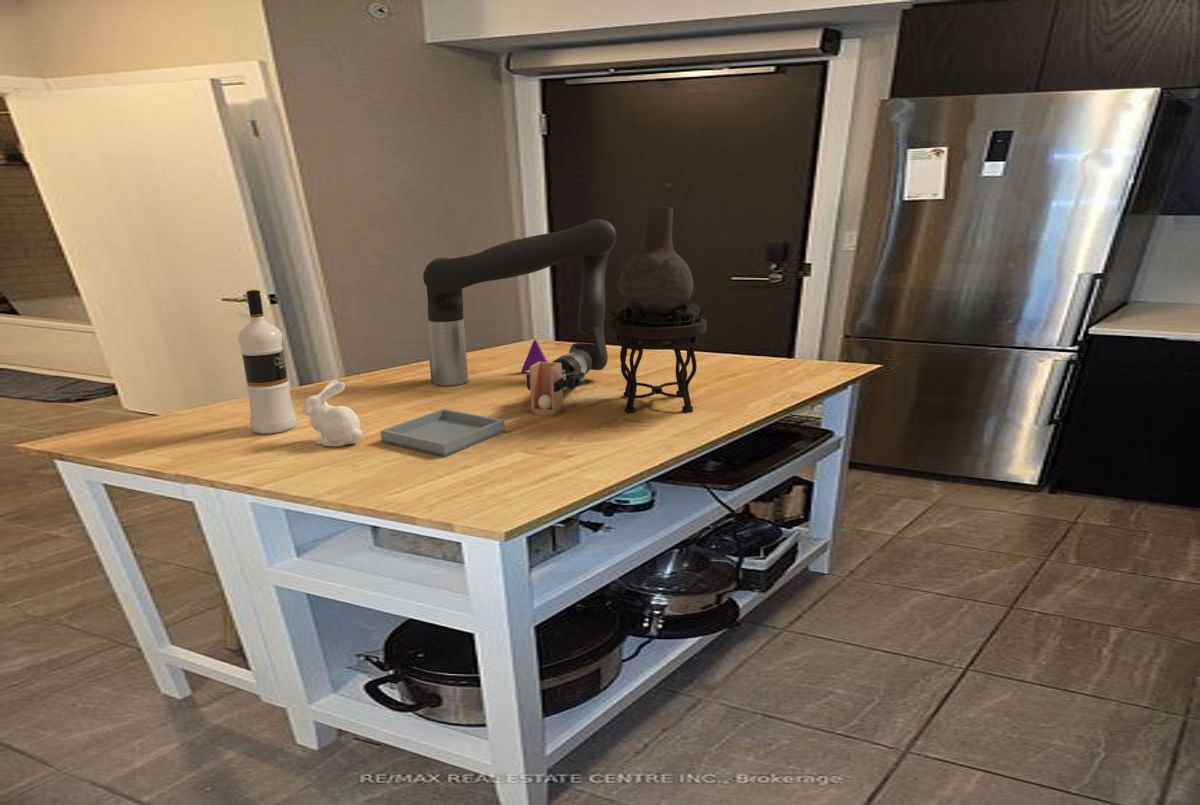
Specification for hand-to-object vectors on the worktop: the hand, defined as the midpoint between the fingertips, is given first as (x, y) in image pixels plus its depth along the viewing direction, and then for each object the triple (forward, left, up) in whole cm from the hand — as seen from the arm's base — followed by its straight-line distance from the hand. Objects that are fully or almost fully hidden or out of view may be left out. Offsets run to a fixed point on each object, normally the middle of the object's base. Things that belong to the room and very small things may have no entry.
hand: (542, 386), depth 151 cm
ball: (0, +1, -4) cm, 4 cm away
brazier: (+18, +20, -7) cm, 28 cm away
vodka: (-46, -37, -7) cm, 59 cm away
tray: (-9, -23, -7) cm, 25 cm away
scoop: (-1, +2, -7) cm, 7 cm away
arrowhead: (-27, +32, -7) cm, 43 cm away
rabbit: (-27, -36, -7) cm, 45 cm away
